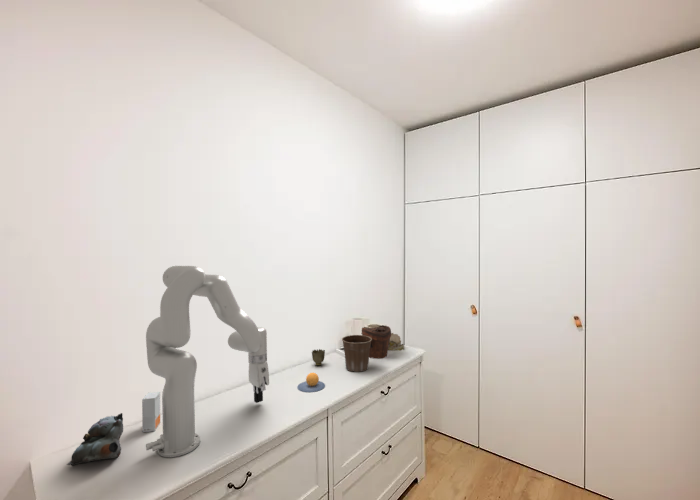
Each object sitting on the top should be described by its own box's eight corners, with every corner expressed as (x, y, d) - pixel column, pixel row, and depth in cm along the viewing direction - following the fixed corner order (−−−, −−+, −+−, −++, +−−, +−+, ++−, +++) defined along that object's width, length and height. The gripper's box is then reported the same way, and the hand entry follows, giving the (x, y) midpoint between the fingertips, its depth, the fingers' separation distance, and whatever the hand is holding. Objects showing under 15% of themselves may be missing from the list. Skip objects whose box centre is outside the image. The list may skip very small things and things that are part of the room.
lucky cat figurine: (59, 466, 101) (74, 415, 108) (102, 462, 110) (114, 415, 117) (84, 465, 95) (98, 411, 101) (127, 461, 104) (138, 411, 110)
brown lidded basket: (396, 351, 208) (395, 323, 208) (386, 362, 190) (385, 330, 190) (369, 349, 215) (368, 321, 215) (357, 358, 197) (356, 328, 197)
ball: (323, 377, 159) (317, 389, 157) (315, 374, 164) (309, 386, 161) (315, 372, 156) (309, 384, 153) (307, 369, 160) (301, 380, 158)
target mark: (307, 394, 148) (307, 394, 148) (292, 386, 158) (292, 385, 158) (330, 386, 157) (330, 386, 157) (314, 378, 167) (314, 378, 167)
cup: (323, 367, 182) (322, 353, 182) (310, 367, 184) (309, 352, 184) (326, 363, 190) (326, 349, 190) (314, 362, 191) (314, 348, 191)
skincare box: (155, 431, 120) (154, 398, 120) (142, 432, 119) (141, 399, 119) (161, 422, 126) (160, 391, 126) (148, 424, 125) (148, 392, 125)
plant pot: (378, 369, 178) (377, 339, 178) (353, 376, 169) (353, 344, 169) (360, 361, 192) (360, 333, 192) (336, 367, 183) (336, 337, 183)
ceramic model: (381, 350, 213) (380, 334, 213) (383, 345, 224) (382, 330, 224) (403, 351, 210) (403, 335, 210) (404, 346, 221) (404, 331, 221)
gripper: (274, 359, 136) (275, 404, 136) (257, 351, 148) (258, 393, 148) (257, 364, 131) (258, 410, 131) (241, 355, 143) (242, 398, 143)
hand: (258, 401), depth 140 cm, fingers closed
